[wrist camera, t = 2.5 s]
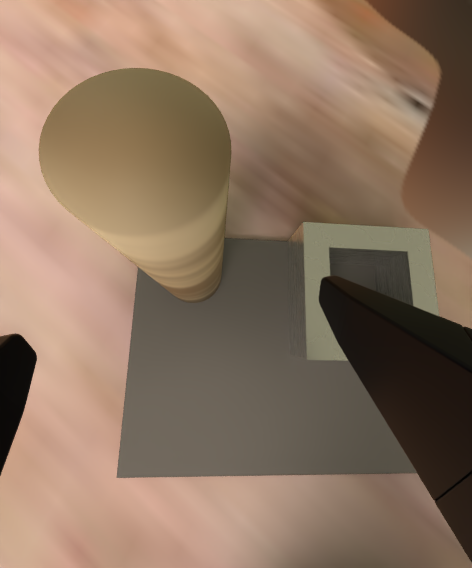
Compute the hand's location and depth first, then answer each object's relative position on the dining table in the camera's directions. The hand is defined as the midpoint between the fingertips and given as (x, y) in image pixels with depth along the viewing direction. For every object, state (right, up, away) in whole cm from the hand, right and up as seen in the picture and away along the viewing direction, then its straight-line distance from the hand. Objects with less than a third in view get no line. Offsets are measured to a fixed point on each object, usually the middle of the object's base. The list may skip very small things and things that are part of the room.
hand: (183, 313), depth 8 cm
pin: (-1, +2, +10) cm, 11 cm away
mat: (+4, -4, +10) cm, 12 cm away
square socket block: (+10, 0, +11) cm, 15 cm away
